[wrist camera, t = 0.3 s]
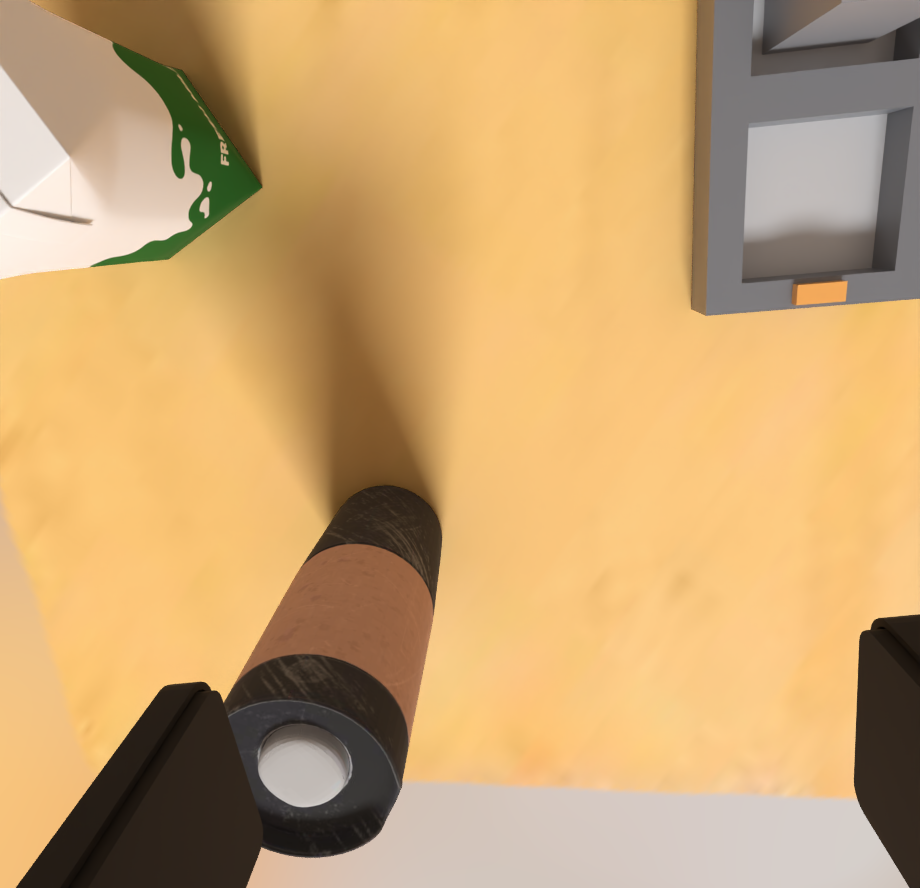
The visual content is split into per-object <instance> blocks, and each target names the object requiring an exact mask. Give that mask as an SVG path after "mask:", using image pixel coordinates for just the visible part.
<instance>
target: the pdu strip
mask: <svg viewBox="0 0 920 888" xmlns="http://www.w3.org/2000/svg"><path fill="white" fill-rule="evenodd" d="M764 4H765V0H698V8H697V57H696V106H695V156H694V205H693V254H692V304H691V309H692V310H694V311H697V312H699V313H701V314H703V315H705V316H709V315H721V314H734V313H746V312H759V311H771V310H784V309H796V308H809V307H821V306H834V305H846V304H859V303H871V302H884V301H896V300H909V299H920V18H918V19H916V20H914V21H912V22H909V23H907V24H905V25H903V26H901V27H899V28H897V29H895V30H893V31H891V32H889V33H887V34H885V35H883V36H881V37H879V38H877V39H875V40H873V41H871V42H869V43H864V44H855V45H846V46H837V47H828V48H819V49H810V50H801V51H792V52H783V53H774V54H766V55H762V46H763V25H764Z"/></svg>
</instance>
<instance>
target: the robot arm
mask: <svg viewBox="0 0 920 888" xmlns="http://www.w3.org/2000/svg"><path fill="white" fill-rule="evenodd" d="M854 787H855V792H856V795H857V799H858V802H859V804H860V807H861V809H862V810H863V812H864V814H865V816H866V817H867V819H868V821H869V822H870V824H871V826H872V827H873V829H874V830H875V832H876V834H877V835H878V837H879V839H880V840H881V842H882V844H883V845H884V847H885V848H886V850H887V852H888V853H889V855H890V856H891V858H892V860H893V861H894V863H895V865H896V866H897V868H898V869H899V871H900V873H901V874H902V876H903V878H904V879H905V881H906V883H907V884H908V886H909V888H920V615H909V616H898V617H887V618H878V619H876V620H874V621H873V623H872V625H871V630H866V631H863V632H862V633H861V635H860V640H859V664H858V690H857V716H856V742H855V767H854ZM262 840H263V826H262V821H261V818H260V815H259V812H258V809H257V806H256V802H255V799H254V796H253V793H252V790H251V787H250V784H249V781H248V778H247V774H246V771H245V768H244V765H243V762H242V759H241V756H240V753H239V750H238V747H237V743H236V740H235V737H234V734H233V731H232V728H231V725H230V722H229V719H228V715H227V712H226V709H225V706H224V703H223V700H222V697H221V695H220V693H219V692H218V691H211V689H210V687H209V686H208V685H207V684H206V683H205V682H193V683H183V684H172V685H167V686H165V687H163V688H162V689H161V690H160V691H159V693H158V694H157V695H156V697H155V698H154V699H153V701H152V702H151V704H150V705H149V706H148V708H147V709H146V710H145V712H144V713H143V715H142V716H141V717H140V719H139V720H138V721H137V723H136V724H135V725H134V727H133V728H132V730H131V731H130V732H129V734H128V735H127V736H126V738H125V739H124V740H123V742H122V743H121V745H120V746H119V747H118V749H117V750H116V751H115V753H114V754H113V756H112V757H111V758H110V760H109V761H108V762H107V764H106V765H105V766H104V768H103V769H102V771H101V772H100V773H99V775H98V776H97V777H96V779H95V780H94V782H93V783H92V784H91V786H90V787H89V788H88V790H87V791H86V793H85V794H84V795H83V797H82V798H81V799H80V801H79V802H78V803H77V805H76V806H75V808H74V809H73V810H72V812H71V813H70V814H69V816H68V817H67V818H66V820H65V821H64V823H63V824H62V825H61V827H60V828H59V829H58V831H57V832H56V834H55V835H54V836H53V838H52V839H51V840H50V842H49V843H48V844H47V846H46V847H45V849H44V850H43V851H42V853H41V854H40V855H39V857H38V858H37V859H36V861H35V862H34V864H33V865H32V867H31V868H30V869H29V870H28V872H27V873H26V875H25V876H24V877H23V879H22V880H21V881H20V883H19V884H18V886H17V887H16V888H246V886H247V884H248V881H249V878H250V876H251V873H252V871H253V868H254V865H255V863H256V860H257V858H258V855H259V852H260V849H261V845H262Z"/></svg>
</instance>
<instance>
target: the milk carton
mask: <svg viewBox="0 0 920 888" xmlns="http://www.w3.org/2000/svg"><path fill="white" fill-rule="evenodd" d="M261 188H262V186H261V184H260V183H259V181H258V180H257V178H256V177H255V175H254V174H253V172H252V171H251V170H250V168H249V167H248V165H247V164H246V162H245V161H244V159H243V158H242V157H241V155H240V154H239V152H238V151H237V149H236V148H235V146H234V145H233V143H232V142H231V141H230V139H229V138H228V136H227V135H226V133H225V132H224V130H223V129H222V127H221V126H220V125H219V123H218V122H217V120H216V119H215V117H214V116H213V114H212V113H211V112H210V110H209V109H208V107H207V106H206V104H205V103H204V101H203V100H202V98H201V97H200V96H199V94H198V93H197V91H196V90H195V88H194V87H193V85H192V84H191V82H190V81H189V80H188V78H187V77H186V75H185V74H184V72H183V71H182V70H179V69H176V68H172V67H169V66H165V65H162V64H159V63H157V62H155V61H153V60H151V59H148V58H146V57H144V56H142V55H140V54H138V53H136V52H134V51H131V50H129V49H127V48H125V47H123V46H121V45H119V44H117V43H114V42H112V41H110V40H108V39H106V38H104V37H102V36H100V35H97V34H95V33H93V32H91V31H89V30H87V29H85V28H83V27H80V26H78V25H76V24H74V23H72V22H70V21H68V20H66V19H64V18H61V17H59V16H57V15H55V14H53V13H51V12H49V11H47V10H45V9H43V8H42V7H40V6H38V5H36V4H34V3H32V2H31V1H29V0H0V279H3V278H8V277H13V276H18V275H23V274H30V273H37V272H47V271H57V270H67V269H76V268H86V267H96V266H105V265H115V264H125V263H134V262H145V261H157V260H166V259H170V258H171V257H172V256H174V255H175V254H176V253H178V252H179V251H180V250H181V249H183V248H184V247H185V246H187V245H188V244H189V243H191V242H192V241H193V240H194V239H196V238H197V237H198V236H200V235H201V234H202V233H204V232H205V231H206V230H207V229H209V228H210V227H211V226H213V225H214V224H215V223H217V222H218V221H219V220H221V219H222V218H223V217H224V216H226V215H227V214H228V213H230V212H231V211H232V210H234V209H235V208H236V207H237V206H239V205H240V204H241V203H243V202H244V201H245V200H247V199H248V198H249V197H251V196H252V195H253V194H254V193H256V192H257V191H258V190H260V189H261Z"/></svg>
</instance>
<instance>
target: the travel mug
mask: <svg viewBox="0 0 920 888" xmlns="http://www.w3.org/2000/svg"><path fill="white" fill-rule="evenodd" d="M441 547H442V534H441V528H440V524H439V521H438V519H437V517H436V515H435V513H434V512H433V510H432V509H431V508H430V506H429V505H428V504H427V503H426V502H425V501H424V500H423V499H421V498H420V497H419V496H417V495H416V494H414V493H412V492H410V491H408V490H405V489H402V488H399V487H394V486H376V487H371V488H367V489H364V490H362V491H360V492H358V493H356V494H355V495H353V496H352V497H351V498H349V499H348V500H347V501H346V502H345V503H344V505H343V506H342V507H341V508H340V510H339V511H338V512H337V514H336V515H335V517H334V518H333V520H332V521H331V523H330V524H329V526H328V527H327V529H326V530H325V532H324V533H323V535H322V536H321V538H320V539H319V541H318V543H317V544H316V546H315V547H314V549H313V550H312V552H311V553H310V555H309V556H308V558H307V559H306V561H305V562H304V564H303V565H302V567H301V568H300V570H299V571H298V573H297V575H296V576H295V578H294V580H293V581H292V583H291V585H290V587H289V589H288V590H287V592H286V594H285V596H284V597H283V599H282V601H281V603H280V604H279V606H278V608H277V610H276V612H275V613H274V615H273V617H272V619H271V620H270V622H269V624H268V626H267V627H266V629H265V631H264V633H263V635H262V636H261V638H260V640H259V642H258V643H257V645H256V647H255V649H254V650H253V652H252V654H251V656H250V658H249V659H248V661H247V663H246V665H245V666H244V668H243V670H242V672H241V674H240V675H239V677H238V679H237V681H236V682H235V684H234V686H233V688H232V689H231V691H230V693H229V695H228V697H227V698H226V700H225V702H224V706H225V709H226V712H227V715H228V719H229V722H230V725H231V728H232V731H233V734H234V737H235V740H236V743H237V747H238V750H239V753H240V756H241V759H242V762H243V765H244V768H245V771H246V774H247V778H248V781H249V784H250V787H251V790H252V793H253V796H254V799H255V802H256V806H257V809H258V812H259V815H260V818H261V821H262V826H263V840H262V845H261V847H262V848H265V849H267V850H270V851H273V852H277V853H280V854H284V855H289V856H295V857H305V858H313V857H314V858H318V857H328V856H334V855H338V854H343V853H346V852H349V851H352V850H354V849H356V848H359V847H361V846H363V845H365V844H366V843H368V842H370V841H371V840H372V839H374V838H375V837H376V836H377V835H378V834H379V833H380V831H381V830H382V827H383V826H384V823H385V821H386V819H387V817H388V815H389V813H390V811H391V809H392V807H393V806H394V804H395V802H396V800H397V797H398V795H399V792H400V790H401V788H402V779H403V773H404V768H405V763H406V758H407V752H408V747H409V742H410V737H411V731H412V726H413V721H414V716H415V711H416V705H417V700H418V695H419V690H420V685H421V679H422V674H423V669H424V664H425V658H426V653H427V648H428V643H429V638H430V632H431V627H432V622H433V616H434V607H435V599H436V591H437V582H438V574H439V566H440V557H441Z"/></svg>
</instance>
